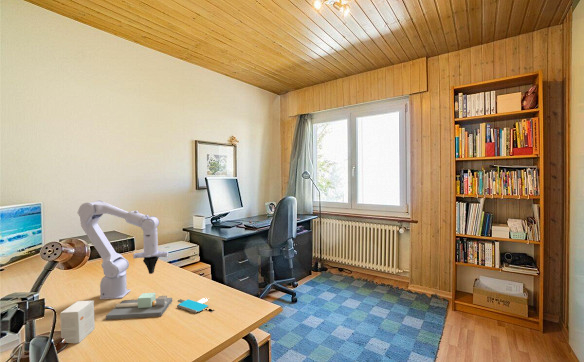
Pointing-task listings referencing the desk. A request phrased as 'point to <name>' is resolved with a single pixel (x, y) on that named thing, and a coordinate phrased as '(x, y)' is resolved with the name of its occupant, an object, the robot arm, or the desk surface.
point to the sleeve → (146, 300)
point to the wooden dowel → (132, 304)
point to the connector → (161, 301)
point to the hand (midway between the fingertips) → (151, 272)
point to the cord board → (137, 311)
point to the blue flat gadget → (193, 305)
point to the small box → (77, 321)
